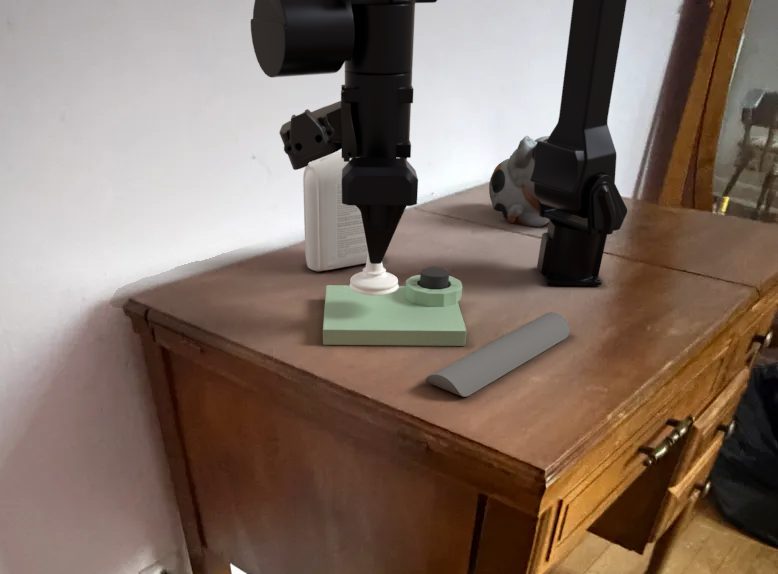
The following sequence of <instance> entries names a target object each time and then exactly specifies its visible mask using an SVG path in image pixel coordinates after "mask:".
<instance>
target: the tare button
mask: <svg viewBox="0 0 778 574" xmlns="http://www.w3.org/2000/svg"><path fill="white" fill-rule="evenodd" d="M419 275H420V286H421V287H423V288H427V289H445V288H448V281H449V276H450V271H449V270H448V269H446V268H443V267H439V266H429V267H424V268H422V269H421V270H420V273H419Z"/></svg>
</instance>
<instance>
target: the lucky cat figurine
mask: <svg viewBox="0 0 778 574" xmlns="http://www.w3.org/2000/svg"><path fill="white" fill-rule="evenodd" d="M549 136H550V135H544V136H540V137H538V138H536V139H533V138H532V137H530V136H529V135H525V136H524V137H523V138H522V139H521V140H520V141H519V143H518V146H517V148H516V149H515V150H514V151H513V152H512V153H511V154H510V156H509V158H506V159H505V160H503V161H501V162H500V163H498V164H497V165H496V167H494V170H493V172H492V174H491V177H490V180H489V184H488V193H489V199H490V201H491V206H492V208H493V210H495V212H500V213H501V214H502V216H503V219H504V221H506V222H507V223H510V224H514V225H521V226H529V227H537V228H541V227H543V226H545V225H546V224H549V219H547V218H542V217H540V216H539V209H538V199H537V197H536V196H535V192H534V182H531V181H530V179H531V176H532V173H533V169H534V163H535V147H536V144H537V142H538V141H547V139H548V137H549Z"/></svg>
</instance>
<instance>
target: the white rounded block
mask: <svg viewBox="0 0 778 574" xmlns="http://www.w3.org/2000/svg"><path fill="white" fill-rule="evenodd" d="M351 159H352V158H350V160H351ZM347 163H348V162H344V158H342V151H337V152H335V153H332V154H330V155H327V156H325V157H322V158H320V159H317V160H315V161H312V162H310V163H308V166H306V167H304V171H303V175H302V183H303V184H302V187H303V191H302V192H303V222H304V224H303V225H304V251H305V262H306V266H307V268H308V269H309V270H311V271H314V272H323V271H329V270H330V271H331V270H336V269H341V268H346V267H352V266H353V267H354V266H358V265H363V264H366V262H367V255H368V249H367V243H366V238H365V232H364V227H363V221H362V216H361V212H360V210H359V208H358V207H356V206H355V205H346V204H342V169H343V168H344V167H345V166H346V165H347Z"/></svg>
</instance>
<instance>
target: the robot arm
mask: <svg viewBox="0 0 778 574" xmlns="http://www.w3.org/2000/svg"><path fill="white" fill-rule="evenodd" d="M437 1H438V0H254V4H253V10H252V18H251V19H250V36H251V43H252V46H253V51H254V54H255V58H256V60H257V63H258V65H259V67H260V69H261V70H262V72H263V73H264V75H266V76H267V77H269V78H285V77H299V76H300V77H301V76H314V75H316V76H317V75H327V74H328V75H329V74H331V75H332V74H336V73H338V72H339V71H340V70H341V69H342V68H343V65H344V84H341V87H340V88H341V90H340V100H339V101H337V102H334V103H331V104H328V105H325V106H322V107H320V108H317V109H314V110H312V111H311V110H310V109H308V108H307V109H305V110H304V111H303V112H301V113H300V114H297V115H296V114H292V115H291V117H290V120H289V121H287V122H285V123H283V124H282V125H281V127H280V129H279V133H278V134H279V136H280V138H281V142H282V144H283V152H284V153H285V154H286V155H287V156H288V160H289V162H290V164H291V167H292V169H293V170H294V171H297V170H301V169H305V167H306V166H308V164H309V163H311V162H313V161H315V160H317V159H320V158H322V157H325V156H327V155H330V154H332V153H337V152H339V151H340V150H341V152H342V158H344V162H348V163H347V165H346V166H345V167H344V168H343V169H342V204H346V205H355V206H356V207H358V208H359V210H360V212H361V216H362V221H363V227H364V232H365V238H366V243H367V249H368V254H369V260H370V263H372V264H380V263H381V262H382V263H383V260H384V259H385V256H386V254H387V251H388V249H389V246H390V244H391V242H392V239H393V237H394V235H395V233H396V230H397V228H398V226H399V223H400V221H401V220H402V217H403V215H404V212H405V211H406V208H407V207H412V206H416V205H418V192H419V191H418V190H419V178H418V175H417V172H416V171H417V170H416V169H415V168H414V167H413V165H412V164H411V163H410V162H409V161H408V159H411V157H412V143H411V140H410V136H411V133H410V132H411V115H412V114H411V112H412V104H414V87H413V67H414V66H413V63H414V62H413V61H414V41H415V15H416V4H435V3H437ZM627 2H628V0H572V7H571V17H570V25H569V32H568V41H567V48H566V49H567V50H566V56H565V64H564V65H565V66H564V72H563V73H564V74H563V80H562V81H563V82H562V89H561V98H560V107H559V115H558V120H557V123H556V125H555V126H554V128H553V129H552V131H551V132H550V134H549V135H548V136H549V137H548V139H547V141H538V142H537V144H536V147H535V163H534V169H533V173H532V176H531V179H530V181H531V182H534V192H535V196H536V197H537V199H538V209H539V216H540V217H542V218H547V219H549V222H548V223H547V224H548V225H547V231H546V232H543V233H542V234H541V239H540V246H539V251H538V258H537V264H536V268H537V270H538V272H539V273H540V274H541V276H542V278H543V280H544V281H545V283H546V285H549V286H597V287H598V286H602V284H603V280H602V279H601V277H600V276H599V275H600V270H601V266H602V260H603V256H604V251H605V247H606V242H607V238H608V236H609V235H613V233H614V231H619V230H620V229H621V227H622V225H623V223H624V221H625V218H626V216H627V214H628V207H627V205H626V203H625V202H624V200H623V197H622V195H621V194H620V192H619V189H618V187H617V185H616V171H617V151H616V147H615V144H614V141H613V137H612V133H611V132H610V129H609V126H608V119H609V114H610V113H609V112H610V106H611V100H612V95H613V94H612V93H613V87H614V82H615V76H616V70H617V63H618V56H619V50H620V45H621V39H622V32H623V27H624V21H625V20H624V19H625V14H626V8H627ZM350 158H352V159H351V160H350Z"/></svg>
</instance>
